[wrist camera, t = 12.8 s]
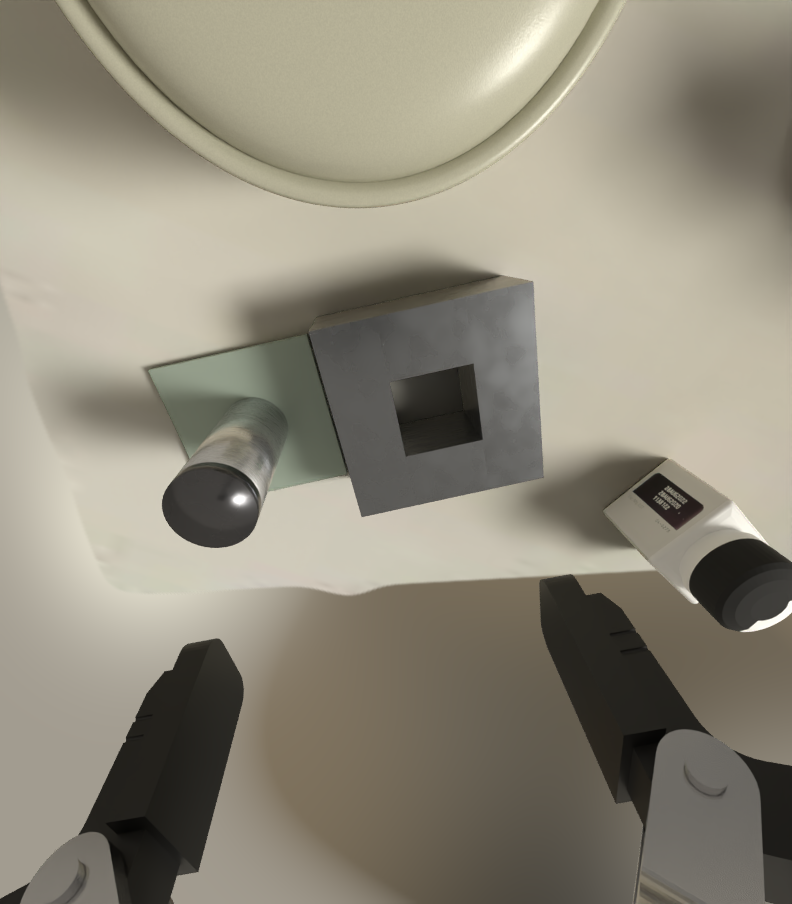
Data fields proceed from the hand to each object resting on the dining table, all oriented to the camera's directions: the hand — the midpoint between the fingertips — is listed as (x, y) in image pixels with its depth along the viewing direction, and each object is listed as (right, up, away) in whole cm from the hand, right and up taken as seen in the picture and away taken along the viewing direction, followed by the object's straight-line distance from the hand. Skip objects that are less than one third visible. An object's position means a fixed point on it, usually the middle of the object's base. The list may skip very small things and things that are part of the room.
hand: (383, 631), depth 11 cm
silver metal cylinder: (-11, +6, +23) cm, 27 cm away
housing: (+3, +10, +24) cm, 26 cm away
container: (+26, -1, +31) cm, 40 cm away
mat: (-11, +7, +24) cm, 27 cm away
